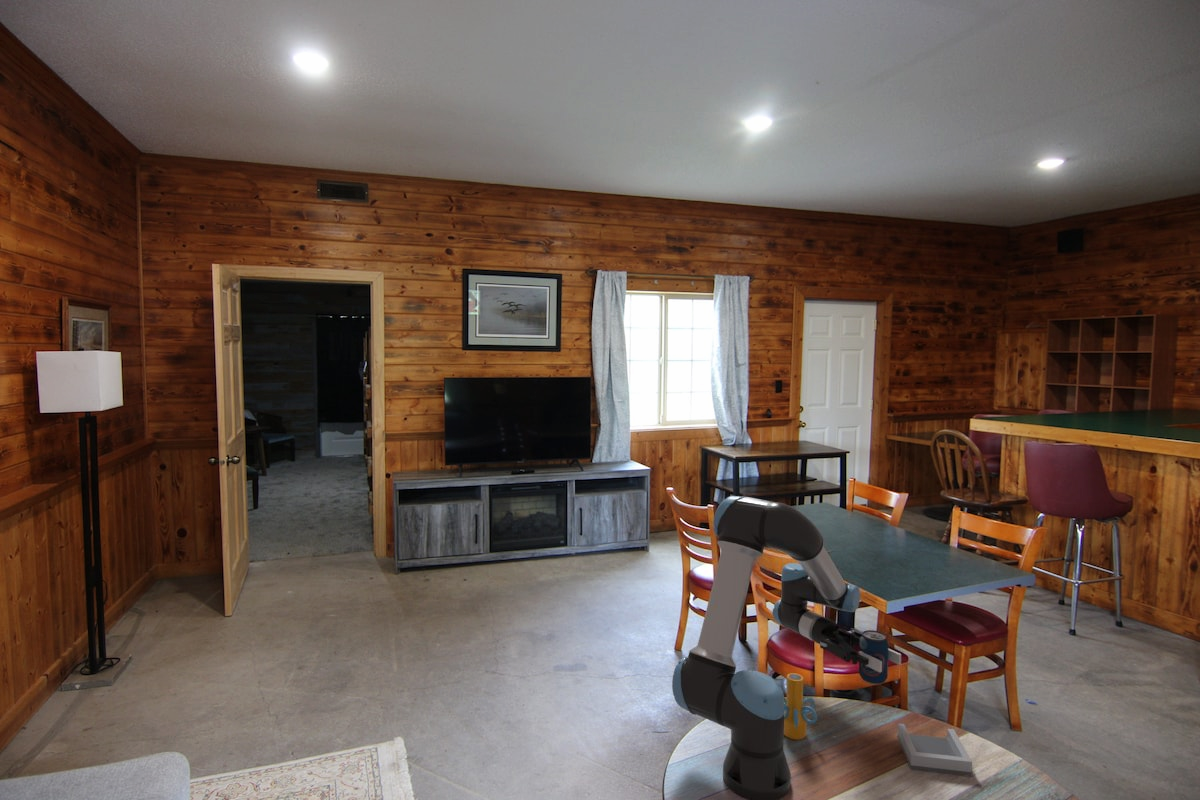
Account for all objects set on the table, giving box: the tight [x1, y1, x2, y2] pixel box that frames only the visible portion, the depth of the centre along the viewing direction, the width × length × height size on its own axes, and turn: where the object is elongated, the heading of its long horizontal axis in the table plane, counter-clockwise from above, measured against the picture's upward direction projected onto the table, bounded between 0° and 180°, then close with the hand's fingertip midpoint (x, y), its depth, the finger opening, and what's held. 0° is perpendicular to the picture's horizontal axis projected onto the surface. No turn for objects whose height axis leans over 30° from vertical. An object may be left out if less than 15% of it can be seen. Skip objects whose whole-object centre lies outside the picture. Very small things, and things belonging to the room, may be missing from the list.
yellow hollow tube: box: [784, 672, 818, 740], centre depth 167 cm, size 12×10×15 cm
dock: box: [897, 723, 973, 777], centre depth 158 cm, size 13×13×4 cm
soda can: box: [858, 629, 889, 685], centre depth 171 cm, size 7×7×12 cm
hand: (890, 663), depth 166 cm, fingers closed on soda can, 7 cm apart
